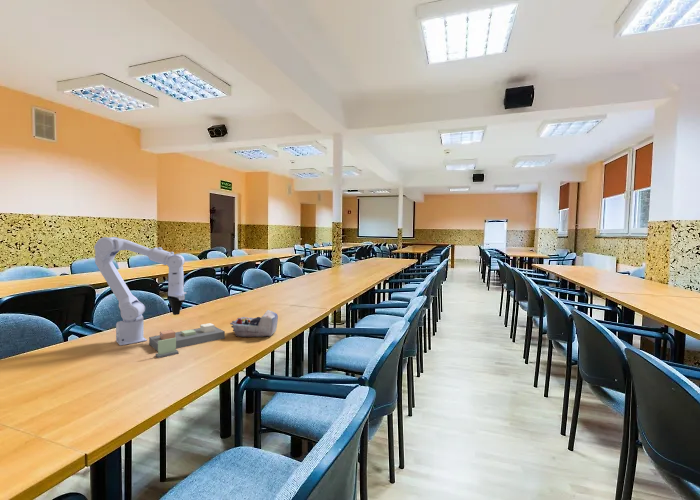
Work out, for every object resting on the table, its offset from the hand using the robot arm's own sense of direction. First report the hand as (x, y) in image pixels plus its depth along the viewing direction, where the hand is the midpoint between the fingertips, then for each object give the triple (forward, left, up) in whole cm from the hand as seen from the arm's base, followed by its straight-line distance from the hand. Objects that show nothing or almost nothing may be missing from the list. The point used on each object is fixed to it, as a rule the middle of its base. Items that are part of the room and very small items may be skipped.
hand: (176, 314), depth 145 cm
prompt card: (-9, -18, -10) cm, 23 cm away
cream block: (+11, -7, -9) cm, 15 cm away
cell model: (+28, -16, -11) cm, 34 cm away
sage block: (+3, -7, -10) cm, 13 cm away
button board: (+2, -7, -10) cm, 13 cm away
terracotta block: (-5, -7, -9) cm, 13 cm away
